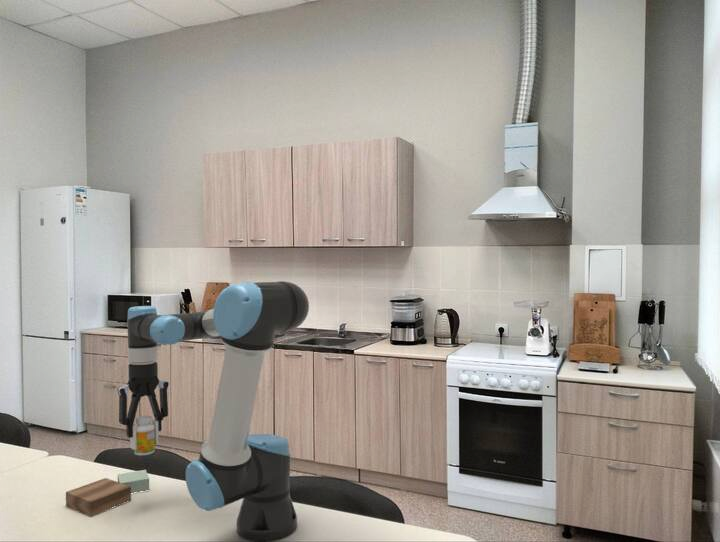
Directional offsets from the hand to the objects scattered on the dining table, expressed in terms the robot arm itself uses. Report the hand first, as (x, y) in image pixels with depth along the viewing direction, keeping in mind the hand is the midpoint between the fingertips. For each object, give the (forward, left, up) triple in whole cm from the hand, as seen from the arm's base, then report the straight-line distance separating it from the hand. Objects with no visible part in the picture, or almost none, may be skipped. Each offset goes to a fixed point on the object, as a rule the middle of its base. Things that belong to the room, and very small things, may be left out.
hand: (144, 445), depth 156 cm
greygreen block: (+14, -2, -17) cm, 22 cm away
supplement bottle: (0, 0, -2) cm, 2 cm away
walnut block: (+10, +9, -17) cm, 22 cm away
